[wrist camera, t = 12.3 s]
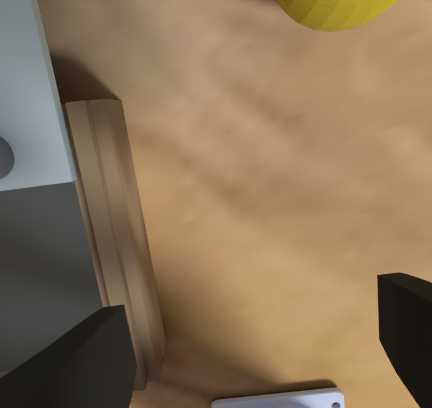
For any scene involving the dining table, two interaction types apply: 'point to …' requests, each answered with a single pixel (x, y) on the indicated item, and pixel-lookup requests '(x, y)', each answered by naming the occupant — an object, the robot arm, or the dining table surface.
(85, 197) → the case
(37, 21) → the lid
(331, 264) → the dining table surface
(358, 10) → the lemon
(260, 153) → the dining table surface
